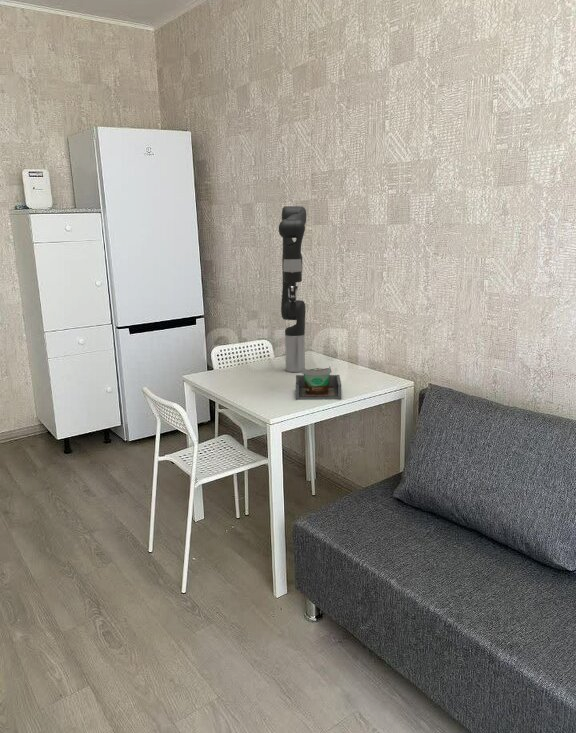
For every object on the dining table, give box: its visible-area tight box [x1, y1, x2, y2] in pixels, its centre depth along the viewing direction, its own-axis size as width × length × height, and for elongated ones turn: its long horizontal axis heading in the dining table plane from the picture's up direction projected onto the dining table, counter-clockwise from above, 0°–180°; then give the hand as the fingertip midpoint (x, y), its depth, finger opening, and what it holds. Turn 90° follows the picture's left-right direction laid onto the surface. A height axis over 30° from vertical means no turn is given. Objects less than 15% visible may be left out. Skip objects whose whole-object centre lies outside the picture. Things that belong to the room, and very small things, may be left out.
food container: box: [301, 365, 333, 394], centre depth 242 cm, size 12×6×10 cm, turn 103°
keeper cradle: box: [295, 374, 342, 401], centre depth 245 cm, size 15×18×6 cm
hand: (293, 309), depth 250 cm, fingers open, 8 cm apart
